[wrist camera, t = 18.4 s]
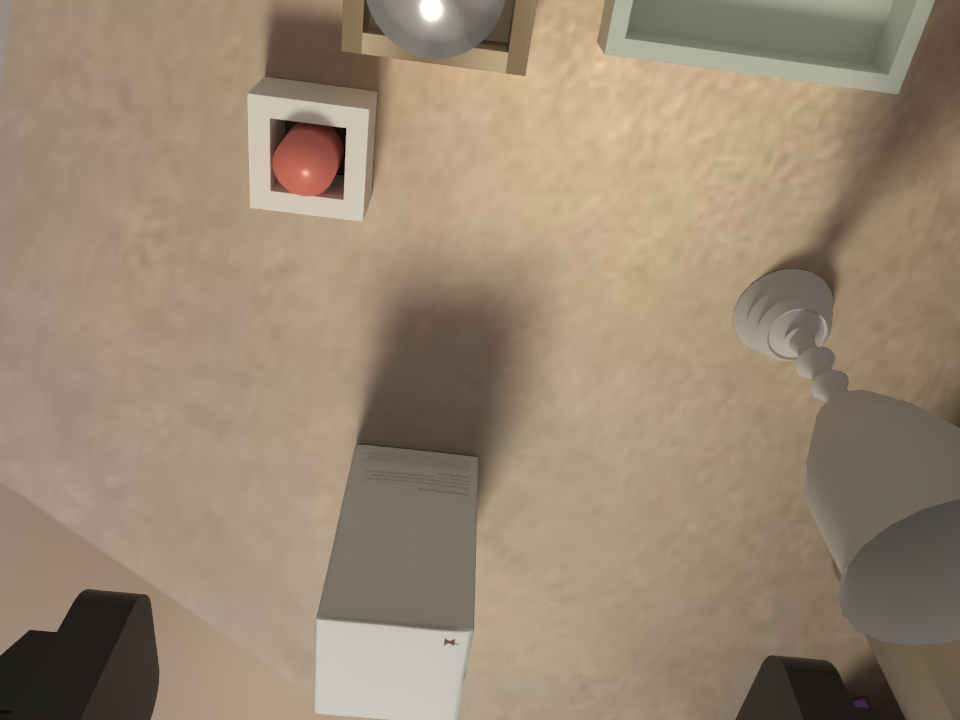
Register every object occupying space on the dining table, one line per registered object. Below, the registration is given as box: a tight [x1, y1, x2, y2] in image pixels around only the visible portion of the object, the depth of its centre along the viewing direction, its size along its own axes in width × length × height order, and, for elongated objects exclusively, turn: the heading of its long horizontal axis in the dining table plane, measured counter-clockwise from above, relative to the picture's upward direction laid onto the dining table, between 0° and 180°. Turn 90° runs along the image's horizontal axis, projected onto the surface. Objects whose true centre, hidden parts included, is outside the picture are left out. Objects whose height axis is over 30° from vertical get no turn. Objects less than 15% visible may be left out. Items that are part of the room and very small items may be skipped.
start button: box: [273, 122, 343, 196], centre depth 35 cm, size 3×3×2 cm
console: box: [248, 77, 377, 221], centre depth 36 cm, size 5×5×3 cm
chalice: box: [733, 269, 960, 645], centre depth 34 cm, size 7×7×18 cm
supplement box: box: [314, 445, 479, 720], centre depth 43 cm, size 7×7×13 cm
